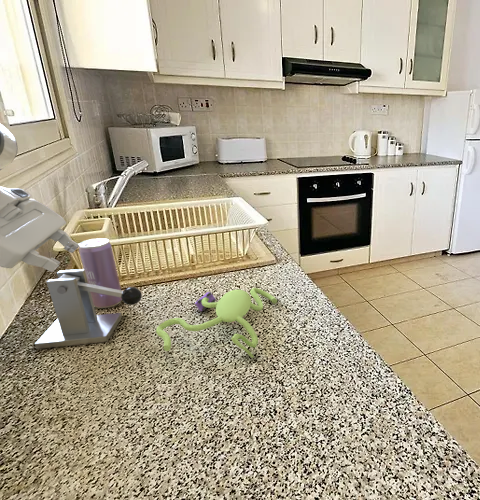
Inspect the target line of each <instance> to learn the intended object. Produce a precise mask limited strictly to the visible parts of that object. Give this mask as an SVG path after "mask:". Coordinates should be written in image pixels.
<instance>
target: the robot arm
mask: <svg viewBox="0 0 480 500" xmlns="http://www.w3.org/2000/svg"><path fill="white" fill-rule="evenodd" d="M12 133H13V132H11V131H10V130H9V129H8V128H7V127H6V126H4V125H3V124H1V123H0V171H1V170H4V169H5V168H6V167H8V166H9V165H11V163H12V162H14V160H15V159H16V158H17V155H18V150H19V149H18V148H19V147H18V143H17V139H16V138H15V136H14V135H13V134H12ZM31 197H32V194H31V193H30V192H28V191H27V190H26V189H23V188H11V187H5V186H0V268H3V269H4V268H5V269H9V270H10V269H13V268H15V267H16V266H17V265H19V264H20V263H22V262H23V263H24V264H27V265H28V266H34V267H38V268H43V269H45V270H47V271H48V272H51V273H52V272H55V270H57V268H58V267H59V266H61V261H60V260H57V259H56V258H54V257H47V256H44V255H42V254H40V252H39V251H37V250H39V248H41V247H43V245H45V244H46V243H47V242H49V241H50V240H52V241H54V242H59V244H60V245H61V246H63V249H64V250H65V251H67V252H68V253H70V254H73V253H74V252H76V251H77V249H79V244H80V243H78V242H76V241H74V240H73V239H72V238H71V237H70V236H69V234H68V233H67V231H64V230H63V228H64V227H65V226H66V225H67V221H66V219H65V218H64V217H63V216H62V215H60V214H59V213H57V212H56V211H55V210H53V209H52V208H50V207H49V206H47V205H46V204H44V203H43V202H40V201H39V200H37V199H35V198H31Z"/></svg>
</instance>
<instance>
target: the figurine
mask: <svg viewBox="0 0 480 500" xmlns="http://www.w3.org/2000/svg"><path fill="white" fill-rule="evenodd" d="M249 293H250V294H249ZM249 293H248V292H247V291H245V290H243V289H232V290H229V291H227V292H225V293H224V294H223V295H222V296H221V297H220V298H219V300H218V301H217V298H216V297H215V296H214V295H213V292H211V291H207V292H206V293H205V294H204V295H202V296H201V297H200V298H199V299H198V300H196V301H195V302H194V305H195V306H196V307H197V309H198V311H199V312H202V311H205V310H207V308H208V309H215V314H216V316H217V317H215V318H212V319H210V320H208V321H205V322H203V323H199V324H189V323H188V322H187V321H186V320H185V319H183V318H181V317H174V318H169V319H167V320H165V321H163V322H162V323H160V324H159V325H158V326H156V329H155V333H156V335H157V336H158V337H159V338H161V339H162V341H163V348H162V349H163V350H164V351H165V352H170V351H171V347H172V339H171V337H170V335H169V333H167V332H166V331H165V329H166V328H168V327H170V326H173V325H180V326H181V327H182V328H183V329H184V330H186V331H187V332H188V331H189V332H200V331H204V330H206V329H209V328H211V327H214V326H217V325H218V324H220V323H222V322H224V323H235V322H237V323H238V324H240V325H242V326H243V328H244V329H245V330H246V332H247V333H248V334H249V336H250V338H251V341H250V340H249V339H248V338H247V337H246V336H245V335H243V334H240V333H234V334H233V336H232V337H231V338H230V339H231V341H232V344H234V345H236V346H237V347H238V348H240V349H241V350H243V351H244V352H245V353H246V354H247V355H248V356H249V357H250V358H253V359H254V358H255V357H254V355H253V353H252V352H251V351H250V350H249V349H248V348H247V347H249V348H256V347H257V346H258V344H259V338H258V335H257V333H256V331H255V330H254V328H253V326H252V325H251V324H250V323H249V322H248V320H246V319H245V318H244V317H245V316H246V314H247V313H248V312H249V311H250V309H251V310H252V311H256V312H261V311H263V309H264V303H263V301H262V298H261V297H260V296H259V295H261V296H262V297H264V298H265V299H268V300H269V301H270V302H271V303H272V304H277V303H278V299H277V298H276V297H275V296H273V295H272V294H271V293H269V292H267V291H265V290H263V289H261V288H258V287H253V288H251V289H250V291H249ZM251 296H252V298H253V299H254V301H255V302H256V304H255V303H253V302H252V298H251ZM239 340H241V341H242V342H244V343H245V344H246V345H247V347H245V346H244V345H243V344H242V343H241V342H240V341H239Z"/></svg>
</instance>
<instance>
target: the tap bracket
mask: <svg viewBox="0 0 480 500" xmlns="http://www.w3.org/2000/svg"><path fill="white" fill-rule="evenodd" d="M63 274H66V275H70V276H75V277H80V281H79V282H82V283H87V284H88V281H87V277H86V273H85V269H84V268H82V269H81V268H80V269H65V270H59V271H57V272H56V275H57V278H54V279H53V278H52V279H48V280H47V281H46V285H47V289H48V291H49V295H50V299H51V301H52V304H53V308H54V312H55V314H56V318H57V319H56V320H54V322H53V323H52V324H51V325H50V326H49V327H48V328H47V330H45V332H44V333H43V334H41V336H40V337H39V338H38V339H37V341H36V342H35V343H34V347H35V349H36V350H40V349H41V350H42V349H49V348H60V347H68V346H70V347H71V346H78V345H87V344H98V343H106V342H107V343H108V341H109V340H110V338H111V336H112V335H113V333H114V331H115V330H116V328H117V327H118V325H119V323H120V322H121V320H122V318H123V316H122V315H123V314H122V313H121V312H117V313H116V312H115V313H105V314H97V311H96V307H95V306H94V304H93V300H92V296H91V292H90V291H85V290H80V289H79V288H78V284H77V281H76V278H64V279H59V278H60V277H61V276H62V275H63Z"/></svg>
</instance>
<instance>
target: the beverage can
mask: <svg viewBox="0 0 480 500" xmlns="http://www.w3.org/2000/svg"><path fill="white" fill-rule="evenodd" d="M78 244H79V247H78V252H79V256H80V261H81V264H82V269H85V273H86V277H87V281H88V284H92V285H97V286H102V287H107V288H112V289H117V290H122V287H121V283H120V278H119V273H118V268H117V266H116V260H115V256H114V252H113V247H112V244H111V242H110V239H108V238H103V237H99V238H98V237H97V238H91V239H86V240H83V241H81V242H79V243H78ZM91 296H92V300H93V304H94V307H95V308H98V309H109V308H113V307H115V306H117V305H119V304H121V302H123V301H122V299H121V297H116V296H111V295H105V294H100V293H95V292H91Z"/></svg>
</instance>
